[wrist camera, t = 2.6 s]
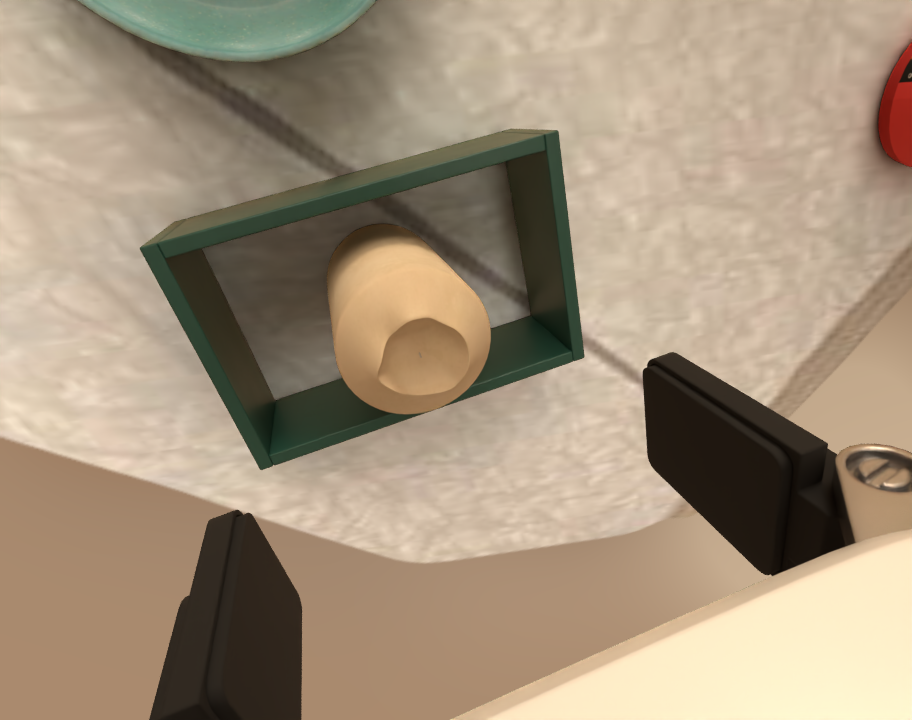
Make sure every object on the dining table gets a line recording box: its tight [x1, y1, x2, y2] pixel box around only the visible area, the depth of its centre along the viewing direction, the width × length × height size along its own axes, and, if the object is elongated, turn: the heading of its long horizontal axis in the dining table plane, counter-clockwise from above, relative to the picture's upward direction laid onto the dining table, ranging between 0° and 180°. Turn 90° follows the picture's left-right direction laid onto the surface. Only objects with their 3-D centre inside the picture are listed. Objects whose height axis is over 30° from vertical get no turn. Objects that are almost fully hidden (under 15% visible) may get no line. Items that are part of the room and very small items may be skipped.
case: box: [140, 129, 584, 470], centre depth 23 cm, size 10×16×5 cm, turn 104°
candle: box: [327, 224, 491, 414], centre depth 20 cm, size 6×6×10 cm
